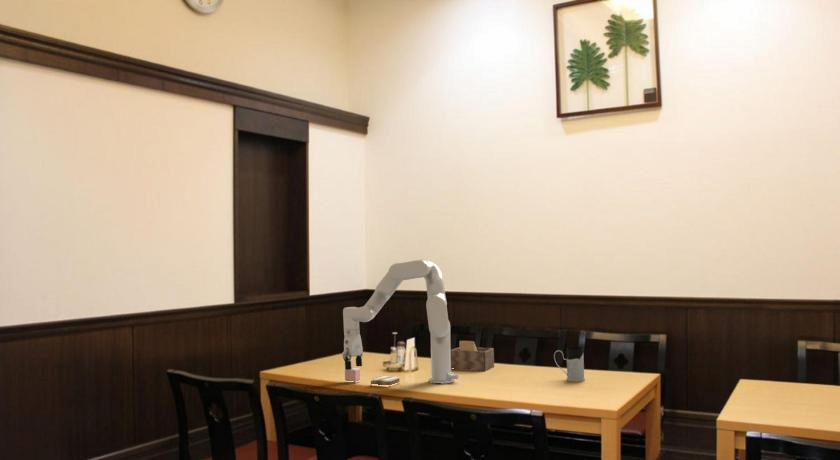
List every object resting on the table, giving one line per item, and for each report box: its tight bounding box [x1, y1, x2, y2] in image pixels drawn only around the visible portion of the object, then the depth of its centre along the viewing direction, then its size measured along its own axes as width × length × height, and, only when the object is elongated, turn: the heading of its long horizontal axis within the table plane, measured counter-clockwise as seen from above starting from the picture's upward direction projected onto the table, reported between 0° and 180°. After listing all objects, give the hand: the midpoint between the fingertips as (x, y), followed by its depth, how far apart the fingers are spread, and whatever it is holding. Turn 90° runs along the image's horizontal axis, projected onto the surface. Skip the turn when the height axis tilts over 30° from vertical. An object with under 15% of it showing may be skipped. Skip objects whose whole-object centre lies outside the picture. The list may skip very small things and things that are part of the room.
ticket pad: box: [370, 375, 401, 385], centre depth 316 cm, size 10×10×3 cm
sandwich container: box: [458, 340, 478, 371], centre depth 358 cm, size 9×15×15 cm, turn 152°
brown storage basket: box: [451, 347, 495, 372], centre depth 357 cm, size 20×14×10 cm
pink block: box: [344, 367, 361, 382], centre depth 325 cm, size 6×4×6 cm, turn 64°
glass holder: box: [553, 346, 586, 382], centre depth 319 cm, size 9×14×15 cm, turn 78°
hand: (353, 367), depth 325 cm, fingers open, 9 cm apart
